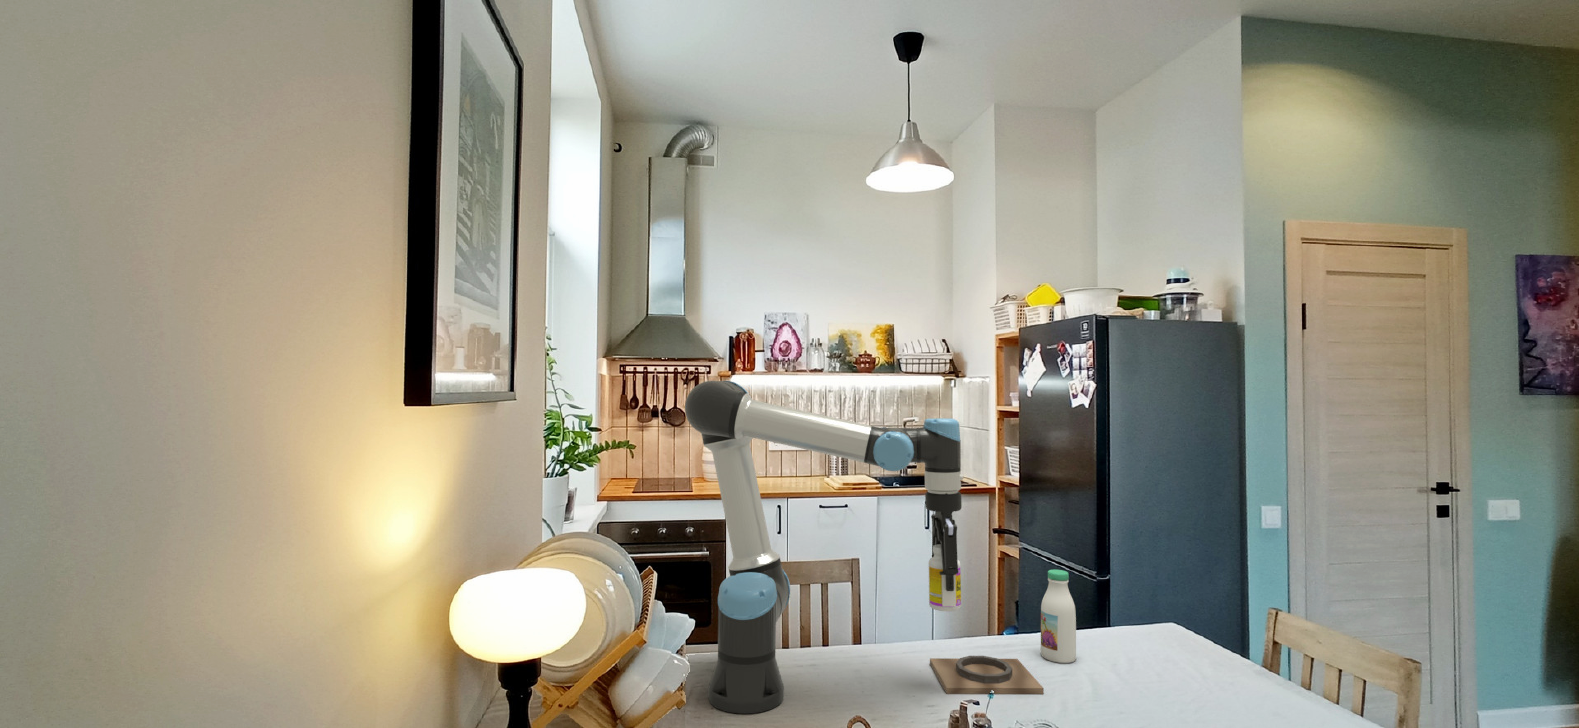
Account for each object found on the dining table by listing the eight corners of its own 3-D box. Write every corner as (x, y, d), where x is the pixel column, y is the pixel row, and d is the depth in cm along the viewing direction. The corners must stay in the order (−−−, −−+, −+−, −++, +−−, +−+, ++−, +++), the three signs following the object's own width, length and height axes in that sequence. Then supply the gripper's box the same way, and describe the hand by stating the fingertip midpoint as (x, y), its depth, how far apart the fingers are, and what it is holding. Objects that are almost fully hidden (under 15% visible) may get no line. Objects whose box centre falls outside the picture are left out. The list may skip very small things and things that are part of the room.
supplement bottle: (961, 613, 147) (960, 550, 148) (928, 611, 149) (927, 549, 149) (961, 603, 154) (959, 543, 154) (929, 602, 155) (928, 542, 156)
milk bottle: (1070, 652, 171) (1070, 567, 171) (1080, 664, 163) (1080, 576, 164) (1037, 651, 171) (1037, 566, 172) (1045, 663, 164) (1045, 575, 164)
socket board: (946, 693, 147) (946, 680, 147) (929, 663, 163) (929, 651, 163) (1043, 694, 147) (1043, 680, 147) (1017, 664, 163) (1017, 652, 163)
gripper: (972, 497, 142) (974, 614, 141) (950, 484, 162) (952, 587, 161) (934, 498, 142) (936, 615, 141) (917, 485, 162) (918, 588, 161)
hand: (945, 600), depth 151 cm, fingers closed on supplement bottle, 7 cm apart
